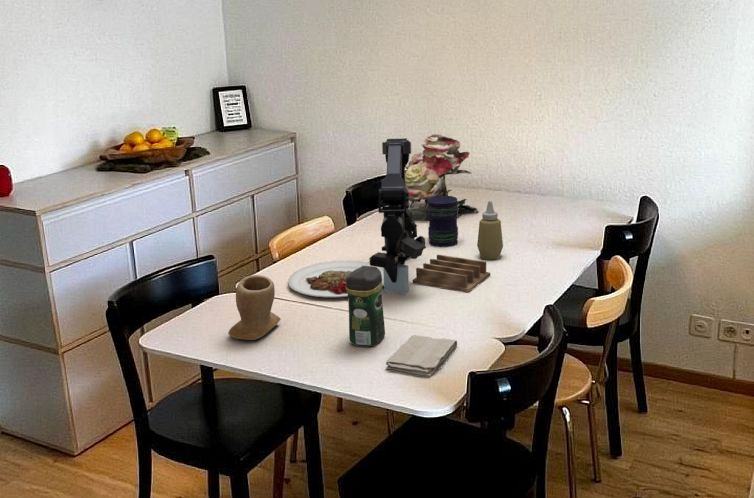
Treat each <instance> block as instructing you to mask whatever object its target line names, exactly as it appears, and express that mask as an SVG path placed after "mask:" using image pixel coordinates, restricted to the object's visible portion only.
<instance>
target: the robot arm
mask: <svg viewBox="0 0 754 498" xmlns="http://www.w3.org/2000/svg"><path fill="white" fill-rule="evenodd" d="M381 147H382V155H385V157H384V158H385V163H386V176H385V177H384V178H383V179H382V180H381V187H380V188H379V189H378V213H379V214H381V213H382V214H383V215H382V216H383V219H382V223H381V226H380V235H381V238H382V237H383V239H384V245H383V246H381V251H382V252H380V251H377V252H375V254H373V255H371V256H370V257H369V258H368V259H369V260H368V261H369V263H370V266H376V267H382V268H384V269H385V270H386V272H387V274H388V275H389V277H390V279H391V281H392V282H393V283H396V279H397V266H398V265H399V264H403V265H406V261H408V259H409V258H411V259H412V260H416V259H417V258H420V257H421V256H422V255H423V251H424V250H426V248H427V246H426V239H425V237H424V236H422V235H419V236H418V227H417V224H416V222H415V220H412V213H411V211H410V209H409V207H410V205H409V204H410V201H409V192H408V191H407V188H406V182H405V173H406V168H405V166H408V164H409V162H410V155H411V154H412V142H411V141H410V140H409V139H407V138H387V139H386V140H385V141H383V142H382V144H381ZM385 252H386V253H385Z"/></svg>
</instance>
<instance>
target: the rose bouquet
mask: <svg viewBox="0 0 754 498" xmlns="http://www.w3.org/2000/svg"><path fill="white" fill-rule="evenodd" d="M423 142H424V143H422V144H421V147H422V148H423V149H424V150H423V151H422V152H418V153H415V154H413V155H412V156H411V159H410V160H409V162H408V164H407V165H406V166H405V182H406V188H407V191H408V192H409V202H411V203H410V205H409V208H408V209H409V210H410V211H411V213H412V220H414V221H423V222H429V216H428V199H429V198H431V197H434V196H449V193H450V192H451V191H452V189H448V187H447V185H446V176H447V175H448V176H449V175H458V174H459V175H460V174H467V175H468V174H469V175H470V174H472V172H471V171H469V170H466V169H465V170H464V169H459V168H460V167H461V164H462V163H463V162H465V160H466V159H468V158H469V157H470V152H469V151H462V152H460V150H459V149H460V148H461V142H460V141H459V140H457V139H454V138H451V137H447V136H446V135H441V134H438V133H437V134H436V133H434V134H431V135H429V136H427V137H425V138H424V139H423ZM447 189H448V190H447ZM423 200H424V204H423V205H419V206H418V208H414V207H415V206H414V205H413V204H414V203H416V202H418V203H421V202H422V201H423ZM466 201H467V198H462V199H461V200H457V206H458V210H459V209H462V210H465V211H473V213H474V214H475V213H478V212H479V211H478V208H476V207H474V206H471V205H467V204H466ZM465 204H466V205H465ZM462 215H463V214H460V213H458V215H457V218H459V217H462Z"/></svg>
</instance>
